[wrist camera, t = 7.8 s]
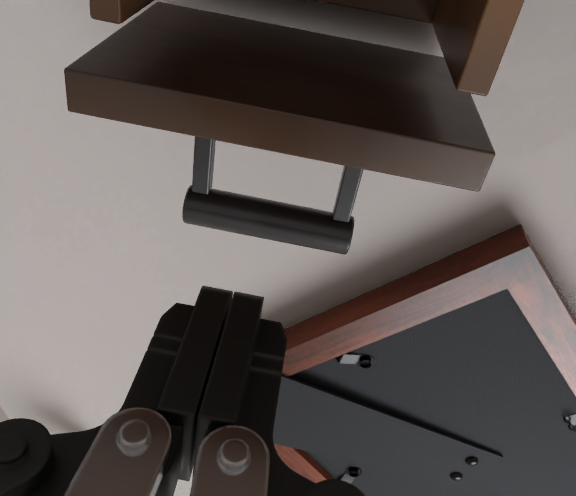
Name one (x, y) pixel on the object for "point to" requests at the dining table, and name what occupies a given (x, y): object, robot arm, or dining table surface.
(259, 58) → the drawer
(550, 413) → the picture frame
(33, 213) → the dining table surface
